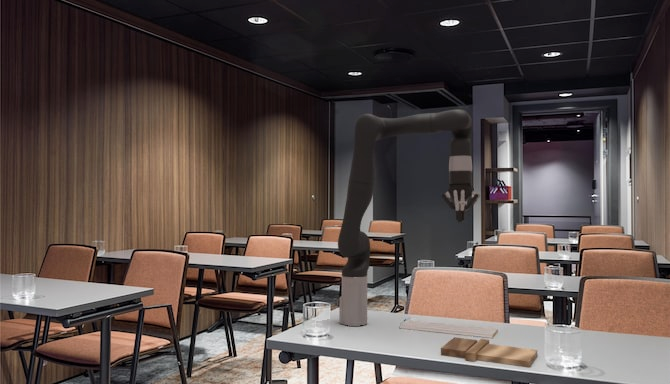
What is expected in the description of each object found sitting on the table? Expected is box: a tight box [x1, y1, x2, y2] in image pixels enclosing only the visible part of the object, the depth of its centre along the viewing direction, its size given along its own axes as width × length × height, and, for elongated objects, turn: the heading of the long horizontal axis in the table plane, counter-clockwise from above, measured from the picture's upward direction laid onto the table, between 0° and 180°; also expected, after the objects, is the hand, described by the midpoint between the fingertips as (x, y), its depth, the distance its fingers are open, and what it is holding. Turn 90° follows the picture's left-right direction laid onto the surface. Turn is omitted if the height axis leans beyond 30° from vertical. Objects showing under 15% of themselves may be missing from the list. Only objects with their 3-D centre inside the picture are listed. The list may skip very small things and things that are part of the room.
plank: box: [440, 337, 478, 359], centre depth 158 cm, size 2×14×7 cm
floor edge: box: [464, 338, 538, 368], centre depth 152 cm, size 16×17×2 cm
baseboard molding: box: [399, 317, 499, 340], centre depth 183 cm, size 31×3×12 cm
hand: (461, 222), depth 179 cm, fingers closed
